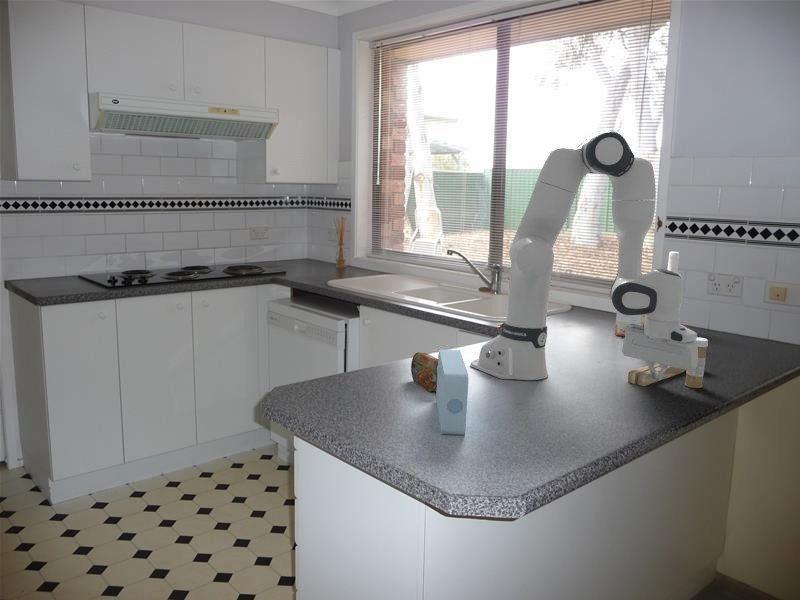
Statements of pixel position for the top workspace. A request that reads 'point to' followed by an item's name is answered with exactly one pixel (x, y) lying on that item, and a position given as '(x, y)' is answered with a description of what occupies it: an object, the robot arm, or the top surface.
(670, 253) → the bottle
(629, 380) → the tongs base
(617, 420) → the top surface
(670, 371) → the tong arm
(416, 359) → the tin
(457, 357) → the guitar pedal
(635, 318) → the cracker box
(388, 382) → the top surface
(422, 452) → the top surface
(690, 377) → the sprinkles bottle
